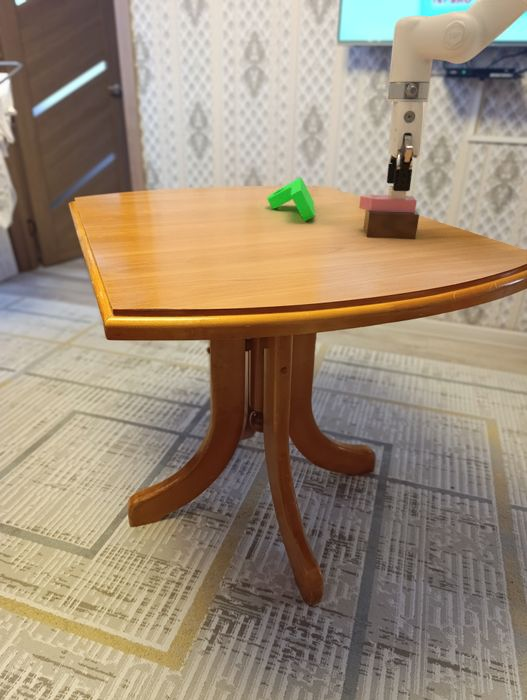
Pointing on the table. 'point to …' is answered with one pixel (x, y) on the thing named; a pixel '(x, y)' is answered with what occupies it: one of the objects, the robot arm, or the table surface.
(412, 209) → the boat
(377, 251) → the table surface
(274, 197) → the bracket
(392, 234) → the block
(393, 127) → the robot arm
